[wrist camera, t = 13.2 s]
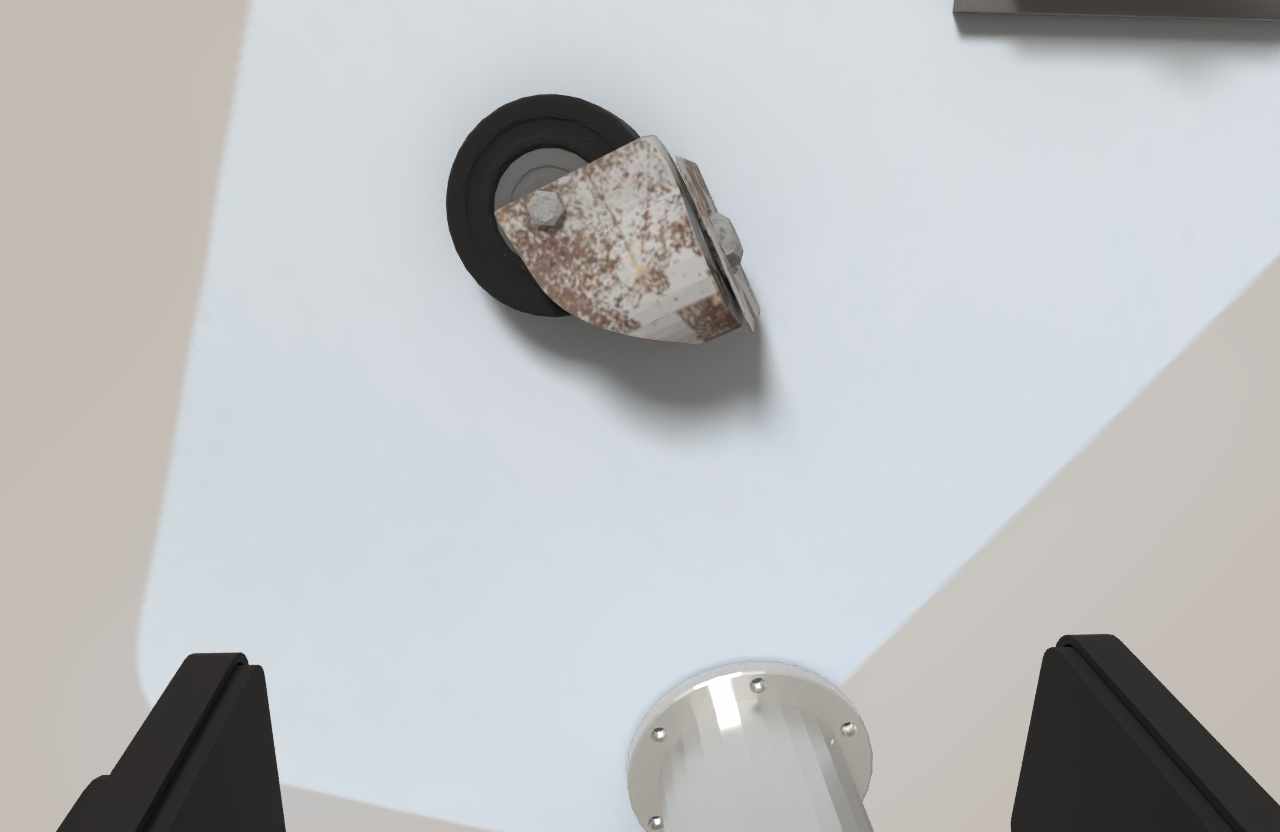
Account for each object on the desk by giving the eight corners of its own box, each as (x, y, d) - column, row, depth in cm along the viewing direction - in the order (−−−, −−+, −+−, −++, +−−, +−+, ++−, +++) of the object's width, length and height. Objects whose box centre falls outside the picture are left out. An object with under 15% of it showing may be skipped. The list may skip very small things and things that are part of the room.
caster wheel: (450, 159, 40) (661, 49, 38) (563, 397, 42) (772, 306, 40) (384, 151, 34) (634, 18, 32) (521, 433, 35) (768, 326, 33)
